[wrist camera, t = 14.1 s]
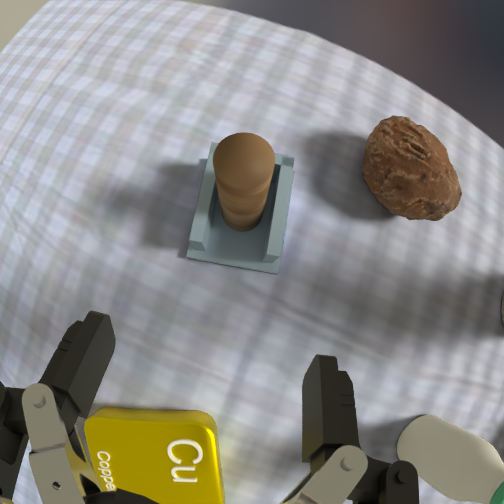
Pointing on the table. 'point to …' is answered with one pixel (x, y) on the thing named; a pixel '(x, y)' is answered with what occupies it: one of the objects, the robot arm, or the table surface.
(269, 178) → the walnut peg
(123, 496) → the robot arm
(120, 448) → the element tile
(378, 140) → the decorative rock
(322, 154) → the table surface
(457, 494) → the milk bottle
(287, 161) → the slate bracket
